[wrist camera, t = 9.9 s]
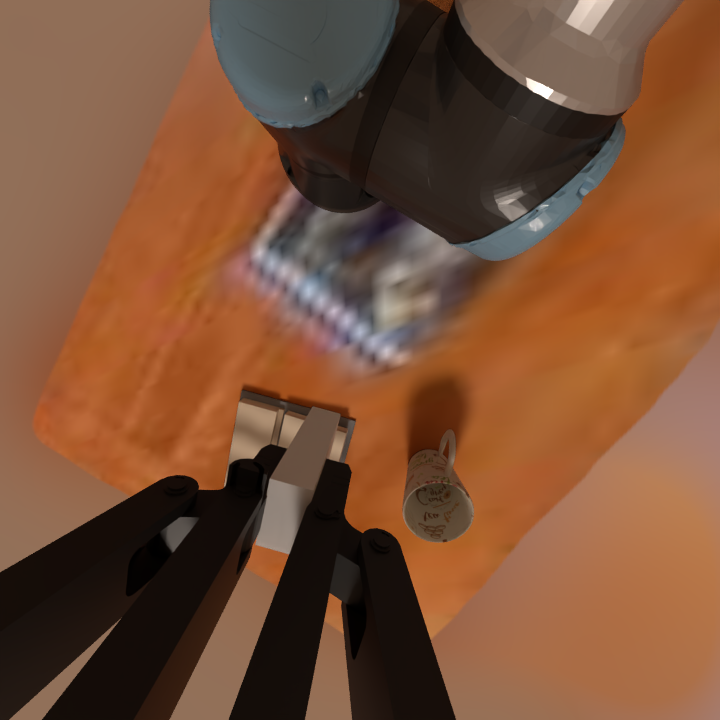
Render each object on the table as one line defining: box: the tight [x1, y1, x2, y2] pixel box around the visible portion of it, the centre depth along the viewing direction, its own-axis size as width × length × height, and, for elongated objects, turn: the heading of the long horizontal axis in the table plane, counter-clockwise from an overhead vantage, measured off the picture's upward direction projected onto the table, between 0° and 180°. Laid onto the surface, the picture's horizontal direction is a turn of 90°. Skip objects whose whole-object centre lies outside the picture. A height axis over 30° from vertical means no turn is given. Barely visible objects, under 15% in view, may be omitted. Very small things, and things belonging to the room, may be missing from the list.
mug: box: [403, 429, 474, 542], centre depth 45 cm, size 8×13×10 cm, turn 169°
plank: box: [278, 411, 348, 462], centre depth 49 cm, size 10×9×2 cm
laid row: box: [224, 390, 356, 487], centre depth 51 cm, size 22×17×2 cm
